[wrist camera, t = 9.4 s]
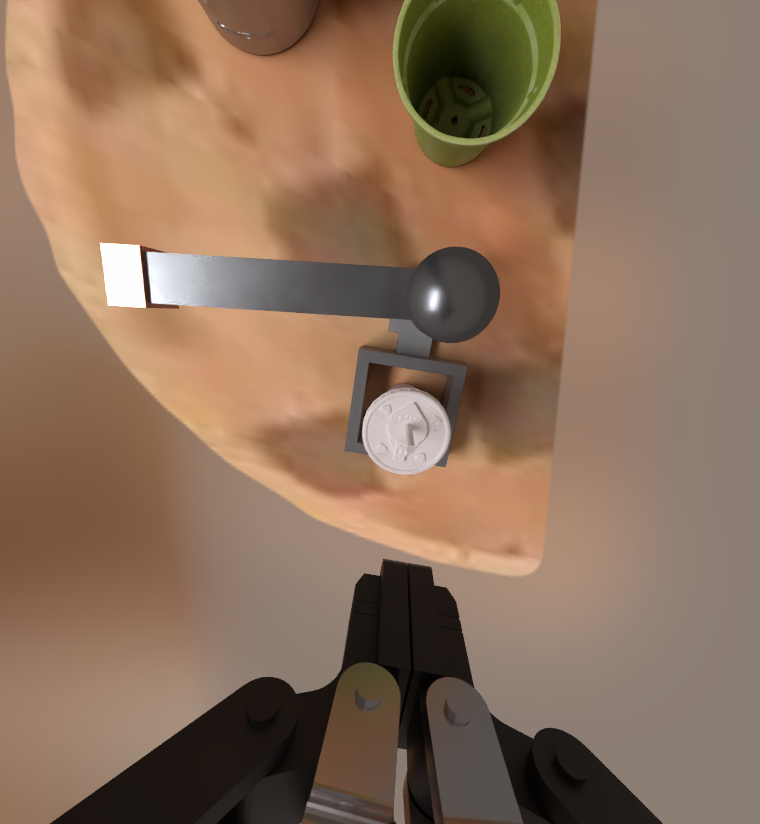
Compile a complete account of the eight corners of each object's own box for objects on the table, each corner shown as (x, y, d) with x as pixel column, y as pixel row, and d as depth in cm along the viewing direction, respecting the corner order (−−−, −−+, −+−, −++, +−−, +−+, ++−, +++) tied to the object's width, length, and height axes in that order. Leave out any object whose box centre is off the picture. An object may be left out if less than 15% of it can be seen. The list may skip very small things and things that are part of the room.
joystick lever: (486, 260, 17) (506, 249, 14) (476, 340, 18) (492, 345, 15) (143, 239, 17) (91, 224, 14) (151, 319, 18) (104, 320, 15)
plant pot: (480, 210, 30) (513, 170, 22) (376, 164, 30) (369, 106, 21) (533, 84, 28) (593, -15, 20) (421, 32, 27) (432, -92, 19)
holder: (372, 268, 32) (352, 227, 17) (478, 285, 32) (553, 260, 17) (348, 439, 36) (315, 530, 21) (441, 455, 36) (475, 556, 21)
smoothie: (444, 377, 34) (476, 419, 21) (426, 440, 36) (446, 516, 22) (378, 362, 34) (367, 394, 20) (363, 425, 36) (344, 493, 22)
